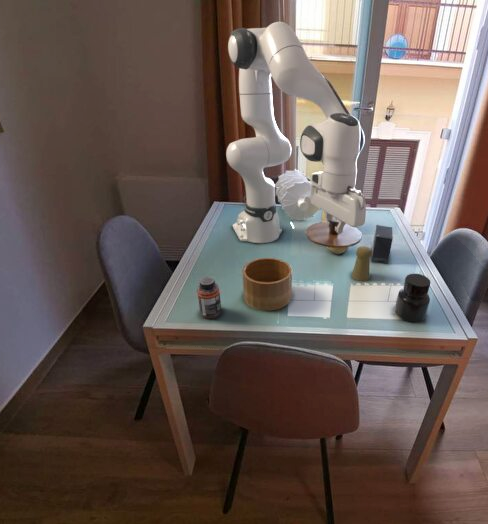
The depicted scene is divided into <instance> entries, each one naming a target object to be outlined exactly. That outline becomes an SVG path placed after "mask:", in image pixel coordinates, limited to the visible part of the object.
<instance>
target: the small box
mask: <svg viewBox="0 0 488 524" xmlns="http://www.w3.org/2000/svg"><path fill="white" fill-rule="evenodd" d="M393 235H394V234H393V227H392V226H386V225H380V224H376V225H375V232H374V237H373V241H372V247H371V250H372V256H371V257H370V262H375V263H381V264H388V263H389V260H390V255H391V249H392V244H393V241H394V240H393V239H394V238H393V237H394V236H393Z"/></svg>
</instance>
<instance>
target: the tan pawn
mask: <svg viewBox="0 0 488 524" xmlns="http://www.w3.org/2000/svg"><path fill="white" fill-rule="evenodd" d="M355 254H356V259H355V262H354V266H353V270H352V273H351V278H353V279H354V280H356V281H358V282H366V281H368V280H369V279H370V268H371V267H370V265H371V264H370V263H371V256H372V248H370V247H369V246H366V245H361V246H359V247H358V248H356V250H355Z"/></svg>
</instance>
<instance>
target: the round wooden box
mask: <svg viewBox="0 0 488 524" xmlns="http://www.w3.org/2000/svg"><path fill="white" fill-rule="evenodd" d="M241 273H242V290H243V291H242V292H243V293H242V294H243V300H244V302H245V304H246V305H247V306H249V307H250V308H252V309H255V310H259V311H265V312H267V311H268V312H269V311H277V310H279V309H282V308H284V307H286V306H287V305H288V304H289V303H290V302H291V300H292V291H293V290H292V289H293V268H292V265H291V264H289V263H288V262H287V261H285V260H282V259H279V258H275V257H261V258H255V259H253V260H251V261H249V262H247V263H246V264H245V265H244V266H243V268H242V271H241Z"/></svg>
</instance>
